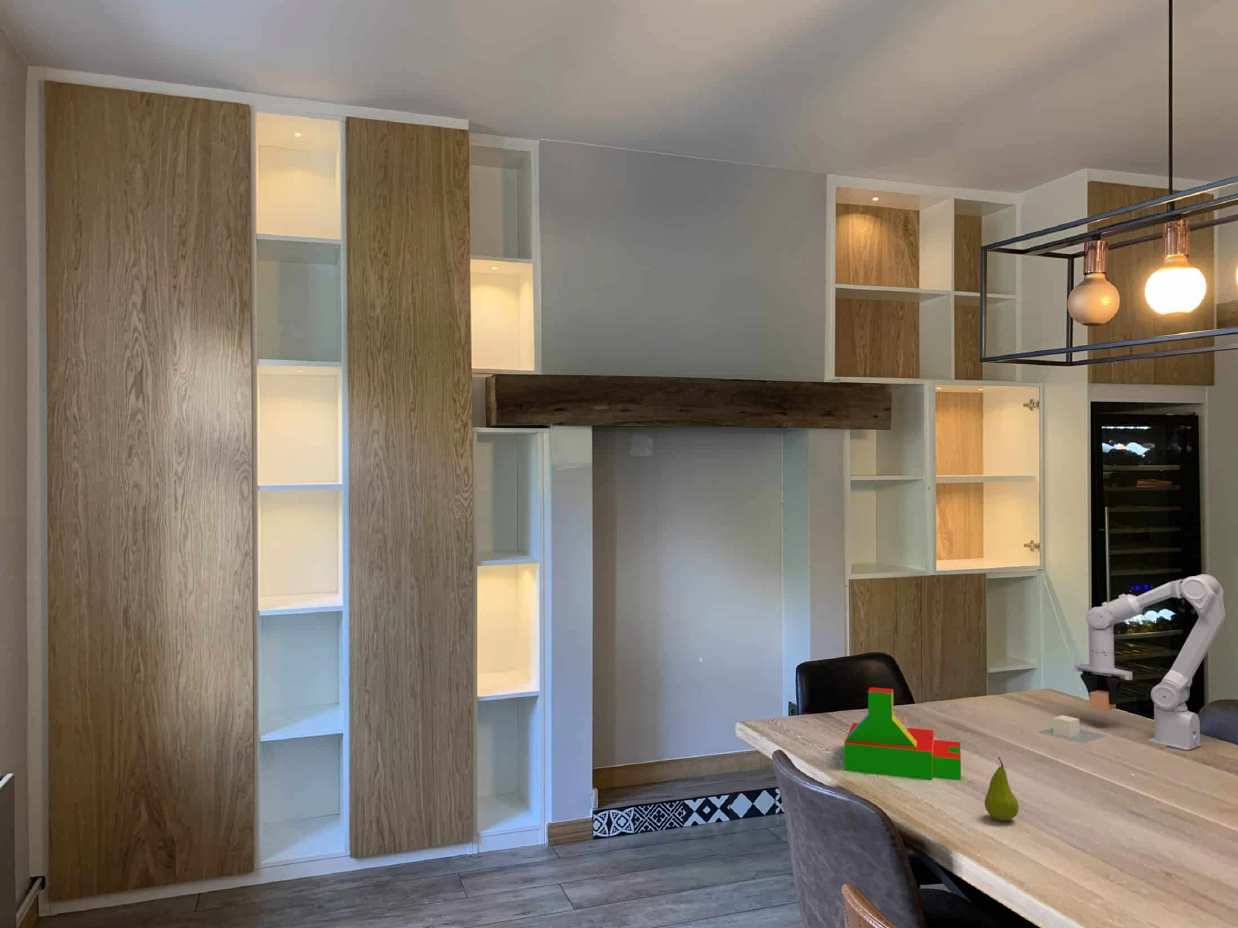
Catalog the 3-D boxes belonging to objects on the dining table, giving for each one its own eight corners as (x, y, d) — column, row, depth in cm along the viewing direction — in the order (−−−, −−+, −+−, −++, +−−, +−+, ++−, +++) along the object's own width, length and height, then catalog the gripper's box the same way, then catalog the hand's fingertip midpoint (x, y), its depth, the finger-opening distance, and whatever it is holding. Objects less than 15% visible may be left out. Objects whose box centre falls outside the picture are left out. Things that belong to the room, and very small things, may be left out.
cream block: (1079, 734, 231) (1079, 718, 231) (1070, 736, 228) (1070, 721, 228) (1062, 730, 234) (1062, 715, 235) (1053, 732, 232) (1053, 717, 232)
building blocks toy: (960, 784, 193) (960, 701, 194) (844, 771, 202) (843, 691, 203) (960, 760, 211) (959, 683, 211) (853, 749, 220) (852, 675, 220)
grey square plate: (1107, 737, 230) (1107, 735, 230) (1083, 744, 223) (1083, 742, 223) (1061, 727, 239) (1061, 725, 239) (1037, 733, 233) (1037, 732, 233)
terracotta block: (1115, 708, 236) (1115, 693, 236) (1107, 710, 233) (1107, 695, 233) (1098, 704, 240) (1098, 689, 240) (1090, 707, 237) (1089, 692, 237)
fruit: (1007, 828, 168) (1006, 764, 168) (977, 818, 173) (977, 756, 173) (1025, 820, 172) (1024, 758, 172) (995, 811, 177) (995, 751, 177)
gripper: (1137, 653, 233) (1138, 705, 233) (1082, 646, 245) (1083, 695, 245) (1124, 656, 229) (1125, 709, 229) (1069, 648, 241) (1070, 698, 241)
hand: (1102, 702), depth 236 cm, fingers closed on terracotta block, 4 cm apart
